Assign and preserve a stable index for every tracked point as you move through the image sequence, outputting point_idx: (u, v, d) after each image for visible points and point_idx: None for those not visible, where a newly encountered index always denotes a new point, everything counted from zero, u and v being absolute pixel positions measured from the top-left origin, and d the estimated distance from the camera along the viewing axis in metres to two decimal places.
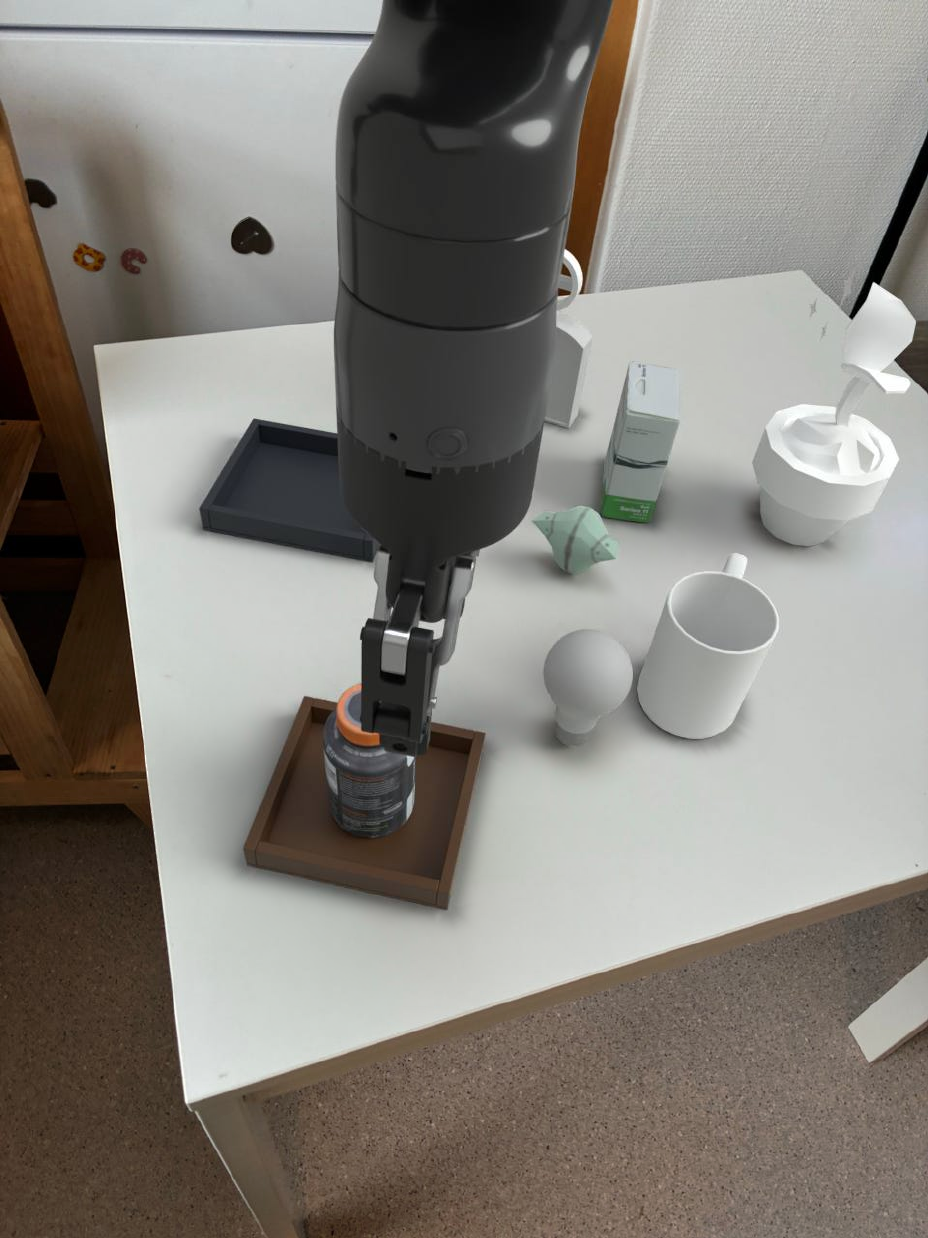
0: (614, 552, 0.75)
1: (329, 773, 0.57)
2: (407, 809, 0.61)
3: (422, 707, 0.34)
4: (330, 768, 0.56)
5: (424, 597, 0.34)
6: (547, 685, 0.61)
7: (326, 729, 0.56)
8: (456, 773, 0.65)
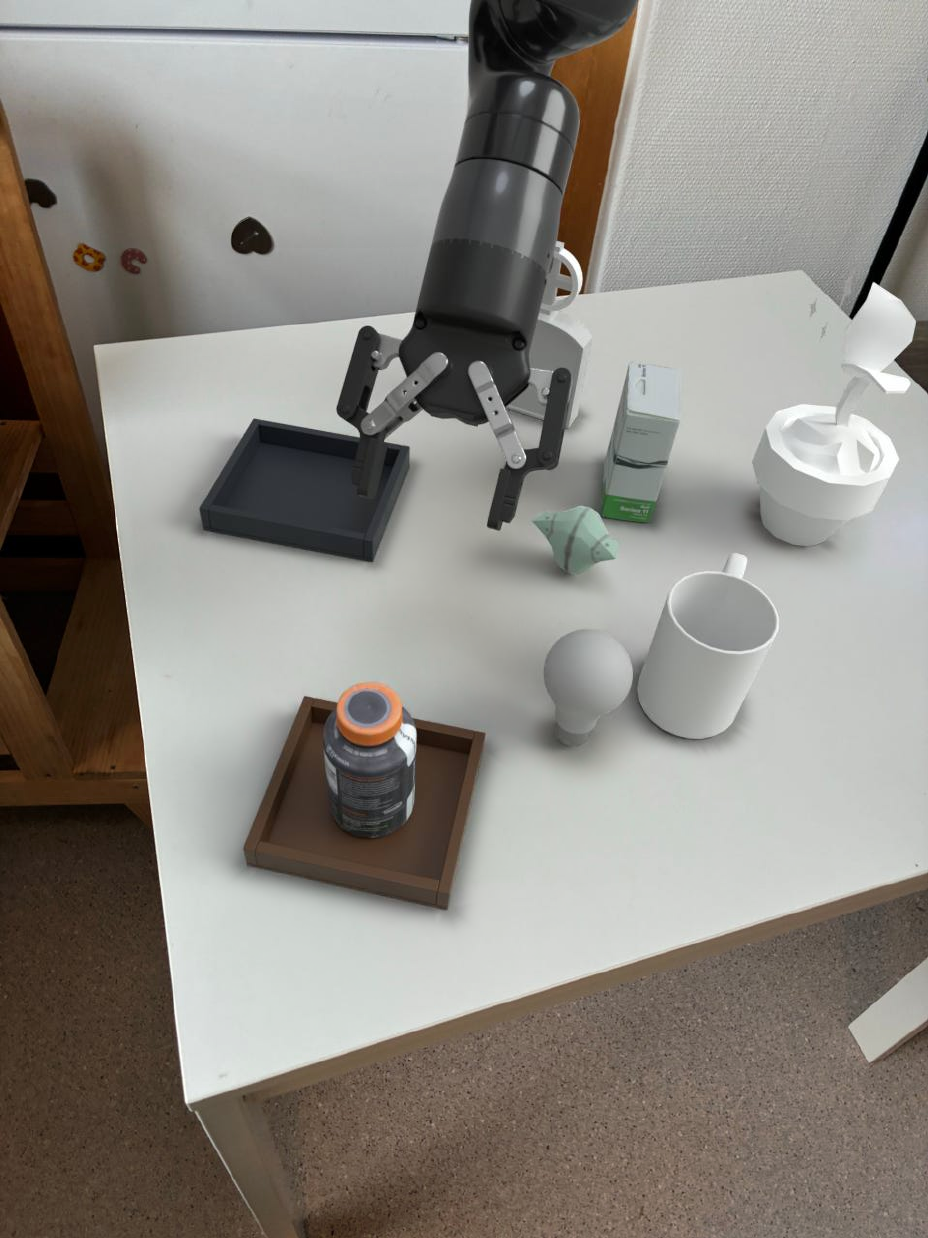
0: (614, 552, 0.75)
1: (329, 773, 0.57)
2: (407, 809, 0.61)
3: (563, 431, 0.57)
4: (330, 768, 0.56)
5: None
6: (547, 685, 0.61)
7: (325, 729, 0.56)
8: (456, 773, 0.65)
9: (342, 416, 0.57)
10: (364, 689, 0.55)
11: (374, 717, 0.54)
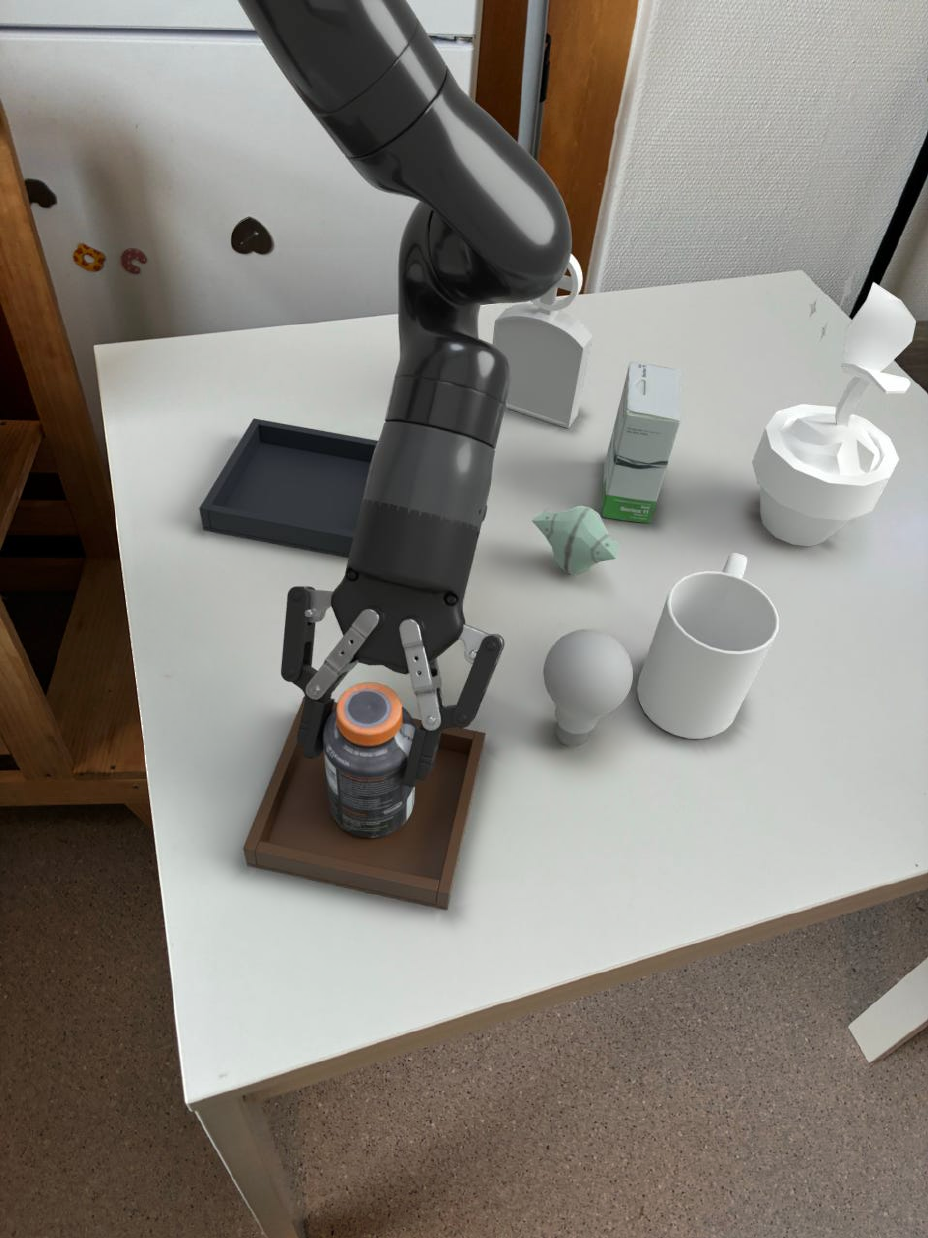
0: (614, 552, 0.75)
1: (329, 773, 0.57)
2: (407, 809, 0.61)
3: (486, 687, 0.57)
4: (330, 768, 0.56)
5: None
6: (547, 685, 0.61)
7: (326, 729, 0.56)
8: (456, 773, 0.65)
9: (287, 679, 0.56)
10: (364, 689, 0.55)
11: (374, 717, 0.54)
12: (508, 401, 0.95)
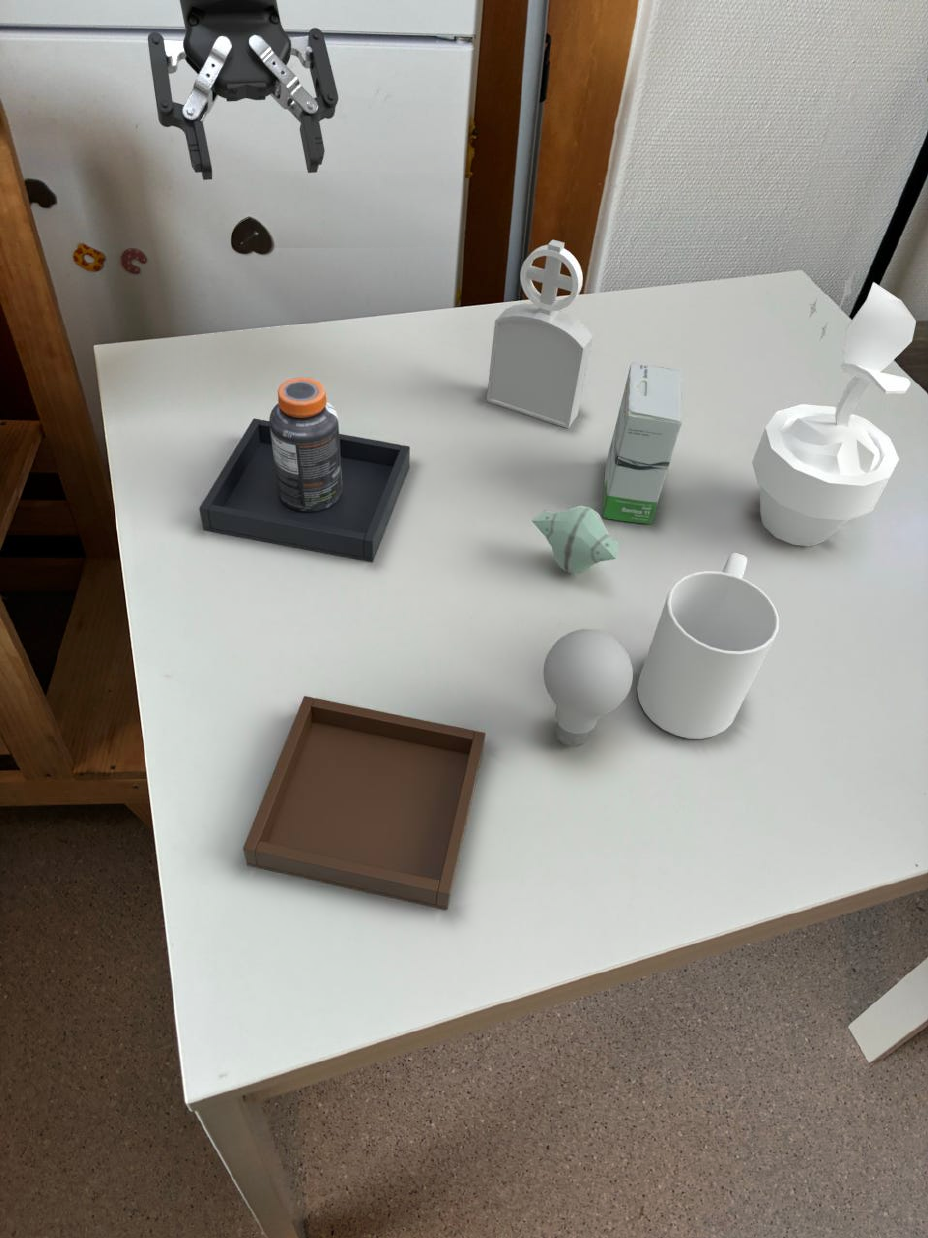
0: (614, 552, 0.75)
1: (288, 457, 0.77)
2: (341, 477, 0.83)
3: None
4: (289, 450, 0.77)
5: None
6: (547, 685, 0.61)
7: (275, 424, 0.76)
8: (456, 773, 0.65)
9: (165, 110, 0.70)
10: (290, 383, 0.76)
11: (310, 393, 0.75)
12: (508, 401, 0.95)
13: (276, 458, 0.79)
